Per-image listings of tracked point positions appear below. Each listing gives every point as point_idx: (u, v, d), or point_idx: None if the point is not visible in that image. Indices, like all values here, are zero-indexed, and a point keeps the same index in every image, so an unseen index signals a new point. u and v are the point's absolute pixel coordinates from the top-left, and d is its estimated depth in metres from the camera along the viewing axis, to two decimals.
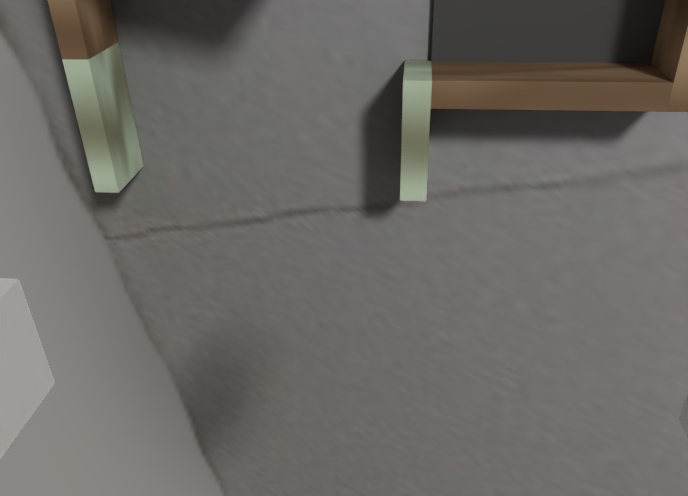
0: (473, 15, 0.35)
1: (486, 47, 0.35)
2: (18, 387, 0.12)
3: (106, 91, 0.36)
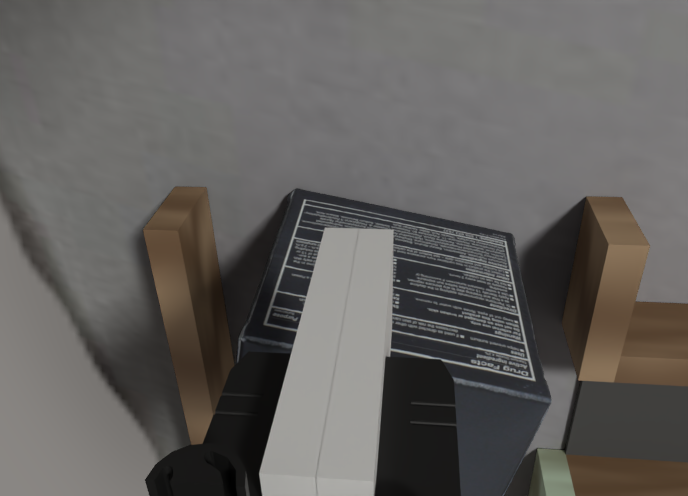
0: (614, 425, 0.34)
1: (624, 448, 0.35)
2: None
3: None
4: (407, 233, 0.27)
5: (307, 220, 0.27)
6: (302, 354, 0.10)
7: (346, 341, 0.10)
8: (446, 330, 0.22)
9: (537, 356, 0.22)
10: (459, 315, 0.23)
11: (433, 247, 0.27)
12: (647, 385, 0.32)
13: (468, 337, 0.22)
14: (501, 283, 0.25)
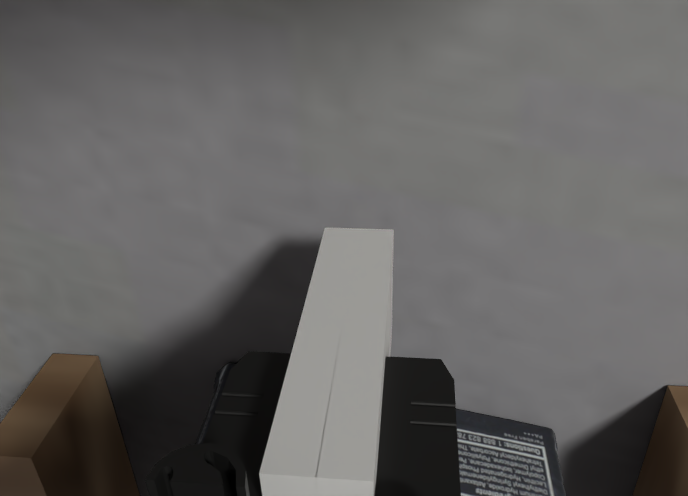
0: None
1: None
2: None
3: None
4: None
5: None
6: (302, 354, 0.10)
7: (346, 341, 0.10)
8: None
9: None
10: None
11: None
12: None
13: None
14: None
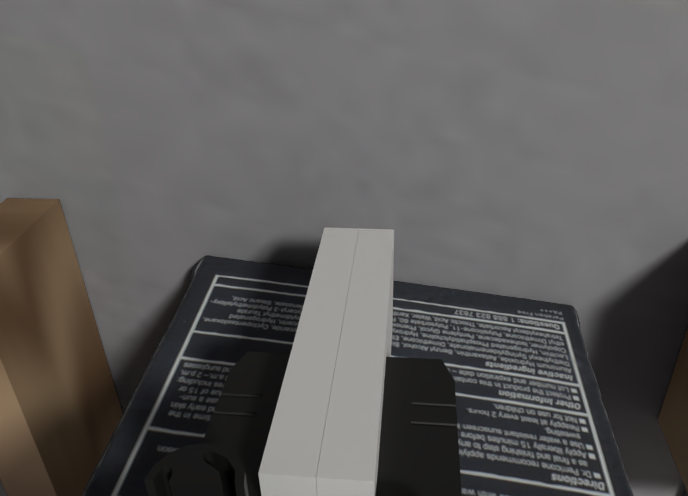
0: None
1: None
2: None
3: None
4: None
5: (213, 316, 0.15)
6: (301, 354, 0.10)
7: (347, 341, 0.10)
8: None
9: None
10: None
11: (437, 350, 0.15)
12: None
13: None
14: (567, 419, 0.14)
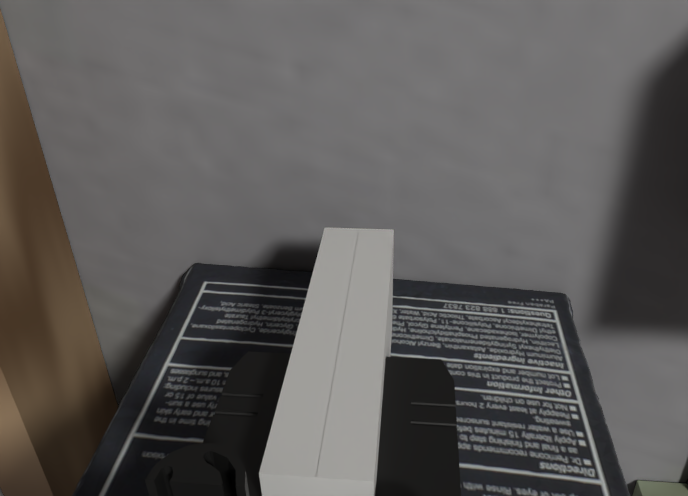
0: None
1: None
2: None
3: None
4: None
5: (200, 322, 0.15)
6: (302, 354, 0.10)
7: (346, 341, 0.10)
8: None
9: None
10: None
11: (425, 345, 0.15)
12: None
13: None
14: (557, 406, 0.13)
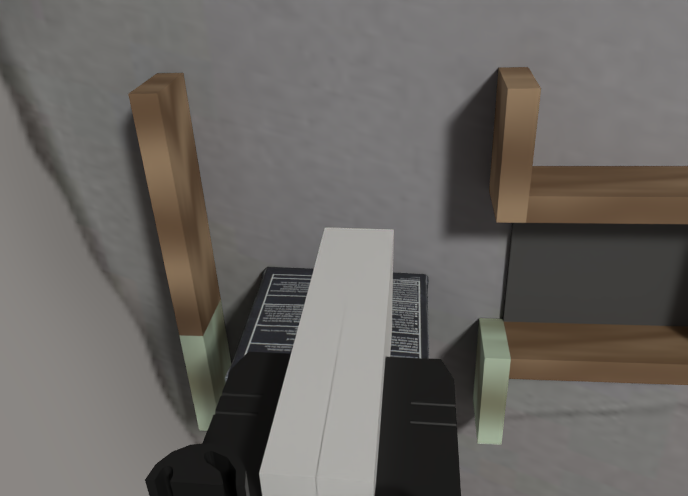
0: (542, 289, 0.39)
1: (553, 312, 0.40)
2: None
3: (213, 351, 0.41)
4: None
5: (273, 289, 0.38)
6: (302, 354, 0.10)
7: (346, 341, 0.10)
8: None
9: None
10: None
11: None
12: (566, 247, 0.37)
13: None
14: (410, 313, 0.36)
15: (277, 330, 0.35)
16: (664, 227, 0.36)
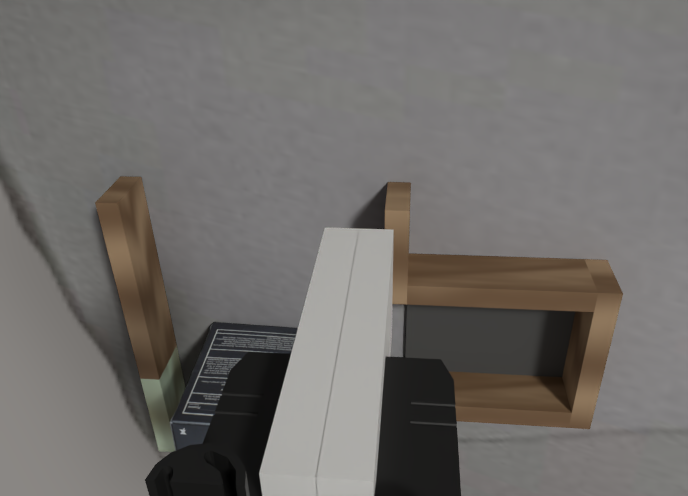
0: (434, 345, 0.48)
1: (444, 363, 0.49)
2: None
3: (169, 389, 0.50)
4: (274, 342, 0.48)
5: (216, 343, 0.48)
6: (302, 354, 0.10)
7: (346, 341, 0.10)
8: None
9: None
10: None
11: (287, 349, 0.47)
12: (450, 314, 0.47)
13: None
14: None
15: (214, 381, 0.44)
16: None
